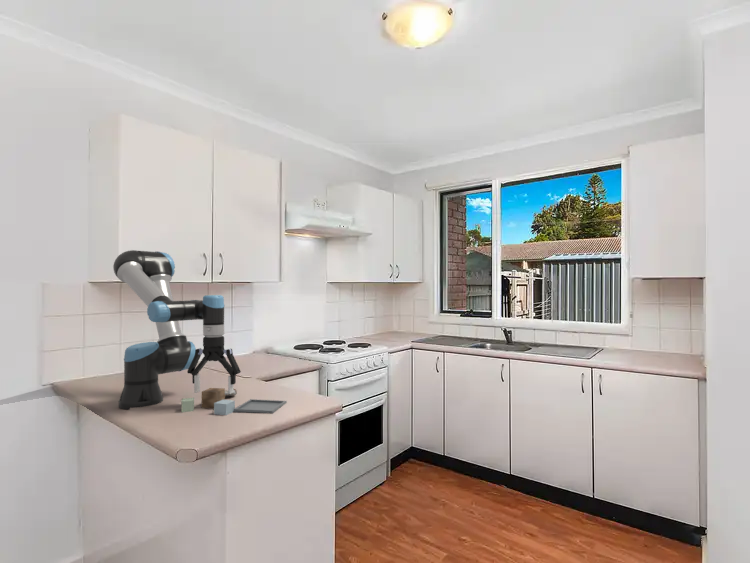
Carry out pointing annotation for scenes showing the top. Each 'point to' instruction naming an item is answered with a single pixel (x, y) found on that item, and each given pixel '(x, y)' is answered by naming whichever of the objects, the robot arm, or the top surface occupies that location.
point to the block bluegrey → (224, 407)
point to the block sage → (187, 404)
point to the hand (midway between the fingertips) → (214, 392)
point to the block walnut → (212, 397)
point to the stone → (231, 393)
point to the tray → (260, 406)
